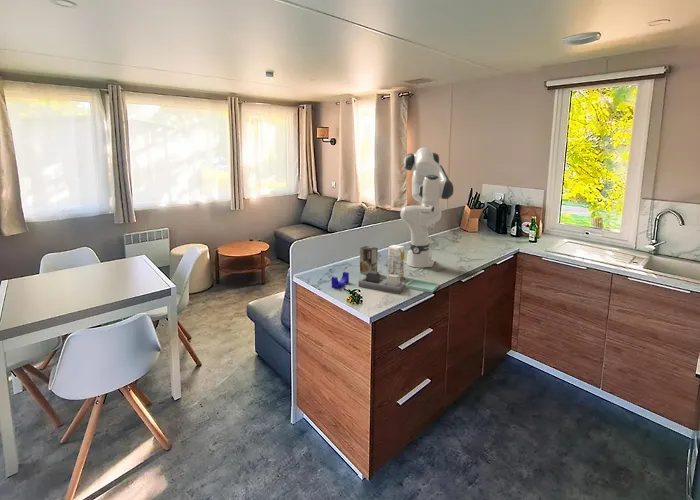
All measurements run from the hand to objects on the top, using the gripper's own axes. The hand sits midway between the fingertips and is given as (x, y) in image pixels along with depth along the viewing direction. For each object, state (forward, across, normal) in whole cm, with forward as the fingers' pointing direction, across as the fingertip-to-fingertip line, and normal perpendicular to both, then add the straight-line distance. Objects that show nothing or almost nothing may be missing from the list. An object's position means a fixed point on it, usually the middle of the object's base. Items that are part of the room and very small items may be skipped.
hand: (428, 232), depth 206 cm
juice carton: (+31, -5, -20) cm, 37 cm away
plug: (+28, +14, -14) cm, 35 cm away
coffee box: (+31, -4, -38) cm, 49 cm away
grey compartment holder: (+30, +14, -20) cm, 39 cm away
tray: (+30, +3, -1) cm, 30 cm away
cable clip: (+31, +22, -41) cm, 56 cm away
